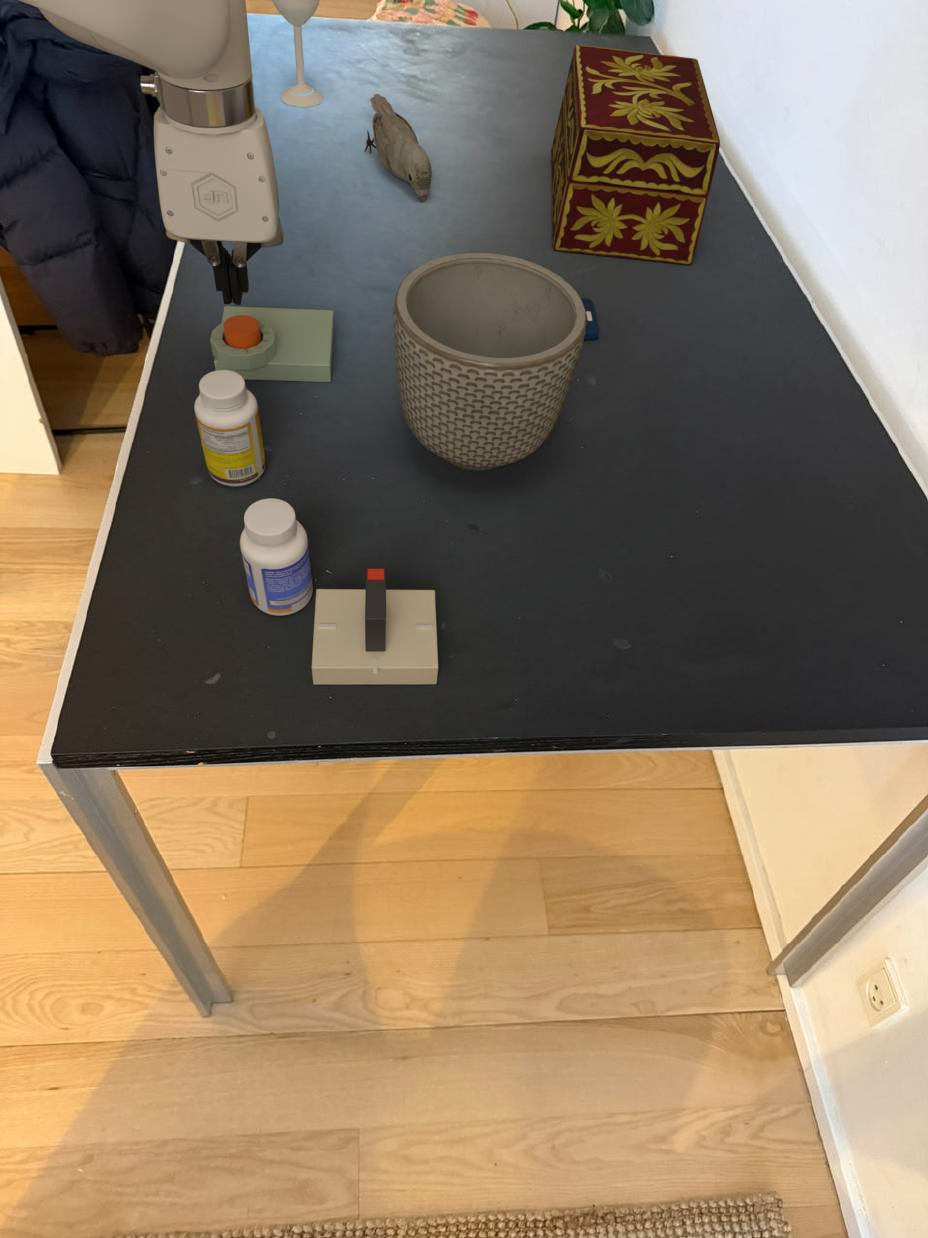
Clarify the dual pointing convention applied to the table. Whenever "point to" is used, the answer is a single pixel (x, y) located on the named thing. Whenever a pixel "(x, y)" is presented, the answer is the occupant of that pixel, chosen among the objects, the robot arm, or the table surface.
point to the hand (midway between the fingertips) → (233, 296)
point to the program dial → (375, 610)
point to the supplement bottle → (229, 429)
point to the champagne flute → (299, 50)
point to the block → (280, 345)
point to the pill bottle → (276, 558)
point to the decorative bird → (399, 147)
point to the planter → (485, 355)
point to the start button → (242, 331)
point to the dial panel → (344, 639)
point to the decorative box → (632, 156)
